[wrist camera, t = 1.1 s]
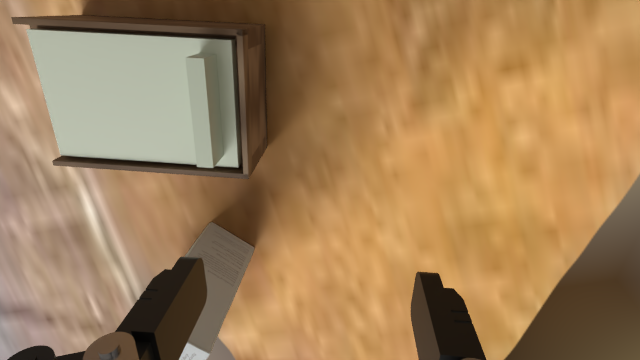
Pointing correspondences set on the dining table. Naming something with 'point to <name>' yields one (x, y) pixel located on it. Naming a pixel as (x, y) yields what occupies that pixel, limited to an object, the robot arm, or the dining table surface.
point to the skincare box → (216, 285)
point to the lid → (141, 96)
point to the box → (245, 36)
